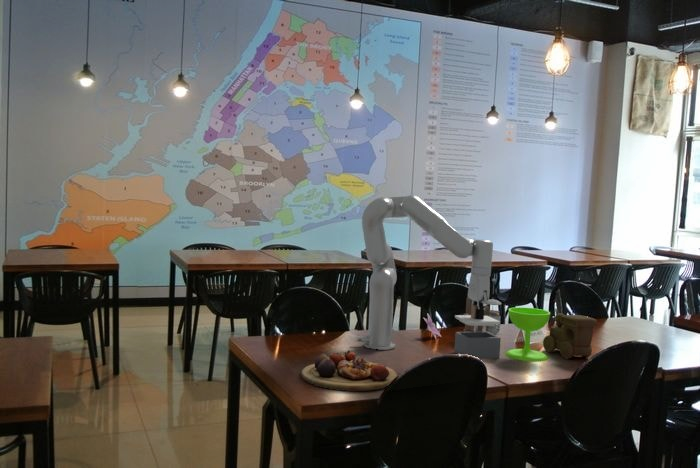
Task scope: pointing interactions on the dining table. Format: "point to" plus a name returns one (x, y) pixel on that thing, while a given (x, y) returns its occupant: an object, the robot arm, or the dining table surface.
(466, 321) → the lid
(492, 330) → the french press
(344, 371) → the wooden plate with food
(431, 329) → the lily
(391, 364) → the dining table surface
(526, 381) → the dining table surface
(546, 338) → the wooden toy train
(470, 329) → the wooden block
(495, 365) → the dining table surface
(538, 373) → the dining table surface
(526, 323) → the wineglass
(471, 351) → the toolbox
